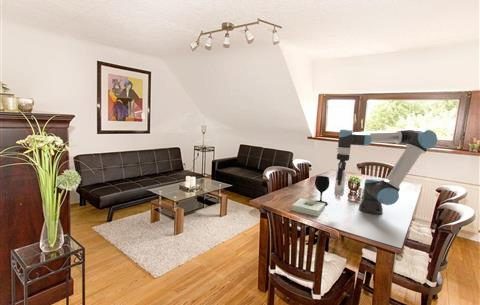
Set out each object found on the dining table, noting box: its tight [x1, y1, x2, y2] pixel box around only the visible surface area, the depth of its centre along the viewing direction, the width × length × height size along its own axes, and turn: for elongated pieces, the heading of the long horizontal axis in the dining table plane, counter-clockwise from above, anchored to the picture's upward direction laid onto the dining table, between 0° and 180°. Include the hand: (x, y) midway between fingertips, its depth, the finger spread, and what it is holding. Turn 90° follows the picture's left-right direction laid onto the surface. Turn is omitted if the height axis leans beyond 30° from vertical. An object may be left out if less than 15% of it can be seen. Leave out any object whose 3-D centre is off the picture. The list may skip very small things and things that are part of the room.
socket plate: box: [291, 197, 326, 217], centre depth 182 cm, size 18×18×4 cm
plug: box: [333, 169, 347, 197], centre depth 169 cm, size 5×5×16 cm
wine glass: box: [314, 175, 330, 206], centre depth 196 cm, size 10×10×20 cm
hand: (339, 188), depth 170 cm, fingers closed on plug, 5 cm apart
